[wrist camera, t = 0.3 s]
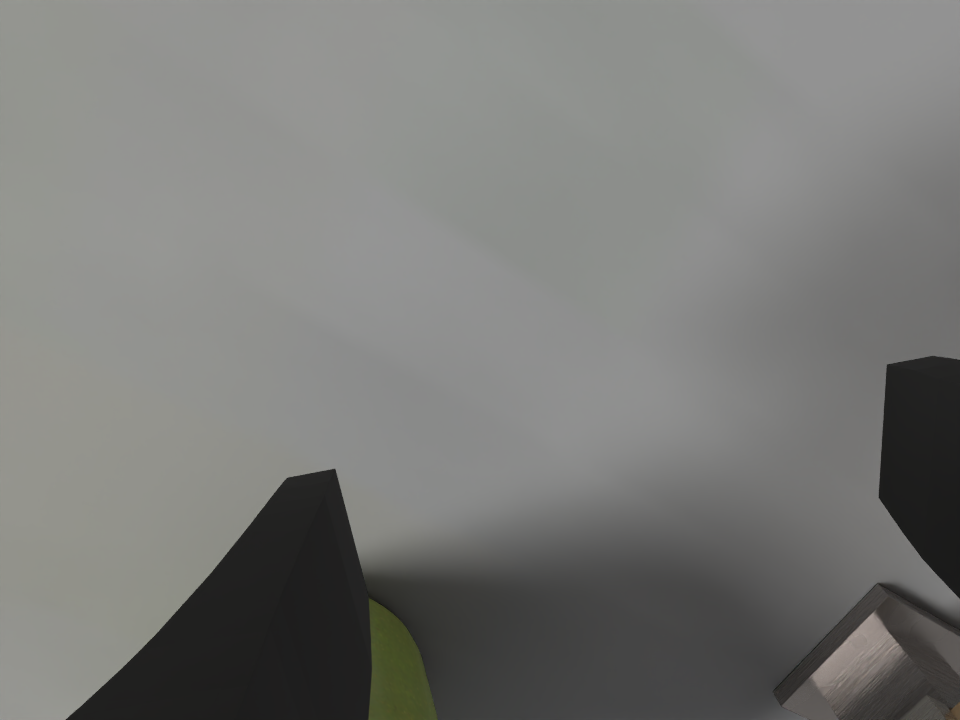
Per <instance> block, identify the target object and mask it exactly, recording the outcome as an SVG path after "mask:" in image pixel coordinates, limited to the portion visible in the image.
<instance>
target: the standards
mask: <svg viewBox="0 0 960 720" xmlns="http://www.w3.org/2000/svg"><path fill="white" fill-rule="evenodd" d="M773 693H774V695H775V696H776V698H777V700H778V702H779V703H780V705H781V706H782V707H784V708H786V709H788V710H790V711H792V712H794V713H796V714H798V715H800V716H802V717H805V718H807V719H809V720H958V719H957V718H956V717H955V716H954V715H953V713H952V712H951V711H950V710H951V709H953V708H954V707H955V706H956V705H957V704H958V703H959V702H960V631H959V630H957V629H956V628H954V627H952V626H950V625H949V624H947V623H945V622H944V621H942V620H940V619H938V618H937V617H935V616H933V615H931V614H930V613H928V612H926V611H924V610H923V609H921V608H919V607H917V606H916V605H914V604H912V603H910V602H909V601H907V600H905V599H903V598H902V597H900V596H898V595H896V594H895V593H893V592H891V591H890V590H888V589H886V588H884V587H883V586H881V585H879V584H877V585H876V586H875V587H874V588H873V589H872V590H871V591H870V592H869V593H868V594H867V595H866V596H865V597H864V598H863V599H862V600H861V601H860V602H859V603H858V604H857V605H856V606H855V607H854V608H853V609H852V611H851V612H850V613H849V614H848V615H847V616H846V617H845V618H844V619H843V620H842V621H841V622H840V623H839V624H838V625H837V626H836V627H835V628H834V629H833V630H832V631H831V632H830V633H829V634H828V635H827V636H826V637H825V638H824V640H823V641H822V642H821V643H820V644H819V645H818V646H817V647H816V648H815V649H814V650H813V651H812V652H811V653H810V654H809V655H808V656H807V657H806V658H805V659H804V660H803V661H802V662H801V663H800V664H799V665H798V666H797V667H796V669H795V670H794V671H793V672H792V673H791V674H790V675H789V676H788V677H787V678H786V679H785V680H784V681H783V682H782V683H781V684H780V685H779V686H778V687H777V688H776V689H775V690H774V691H773Z"/></svg>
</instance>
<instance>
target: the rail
mask: <svg viewBox="0 0 960 720" xmlns="http://www.w3.org/2000/svg"><path fill="white" fill-rule="evenodd" d="M950 711H951V712H952V713H953V715H954V716H955V717H956V718H957V719H958V720H960V702H959V703H958V704H957V705H956V706H955V707H954V708H953V709H951V710H950Z"/></svg>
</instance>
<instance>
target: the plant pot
mask: <svg viewBox="0 0 960 720" xmlns="http://www.w3.org/2000/svg"><path fill="white" fill-rule="evenodd" d="M369 611H370V630H371V653H372V678H371V692H370V706H369V719H368V720H438V718H437V714H436V710H435V706H434V702H433V699H432V695H431V691H430V687H429V683H428V680H427V676H426V672H425V668H424V664H423V661H422V658H421V654H420V652H419V649H418V647H417V645H416V643H415V642H414V640H413V638H412V636H411V635H410V633H409V632H408V630H407V628H406V627H405V626H404V624H403V623H402V622H401V621H400V620H399V619H398V618H397V617H396V616H395V615H394V614H393V613H391V612H390V611H389V610H387V609H386V608H385V607H383V606H382V605H380V604H378V603H377V602H375V601H373V600H372V599H370V598H369Z"/></svg>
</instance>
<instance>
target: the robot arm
mask: <svg viewBox="0 0 960 720" xmlns="http://www.w3.org/2000/svg"><path fill="white" fill-rule="evenodd" d="M879 499H880V500H881V502H882V503H883V504H884V506H885V507H886V509H887V510H888V512H889V513H890V515H891V516H892V518H893V519H894V520H895V522H896V523H897V525H898V526H899V528H900V529H901V531H902V532H903V533H904V535H905V536H906V537H907V539H908V540H909V541H910V543H911V544H912V545H913V547H914V548H915V549H916V551H917V552H918V553H919V555H920V556H921V557H922V559H923V560H924V561H925V562H926V563H927V564H928V565H929V566H930V568H931V569H932V570H933V571H934V572H935V573H936V574H937V575H938V576H939V577H940V578H941V579H942V580H943V582H944V583H945V584H946V585H947V586H948V587H949V588H950V589H951V590H952V591H953V592H954V593H955V594H956V595H957V596H958V597H959V598H960V360H957V359H951V358H944V357H936V356H930V357H925V358H920V359H914V360H909V361H904V362H898V363H893V364H888V365H887V371H886V387H885V404H884V420H883V436H882V452H881V468H880V484H879ZM371 678H372V653H371V630H370V611H369V596H368V592H367V589H366V585H365V581H364V577H363V573H362V569H361V566H360V562H359V558H358V554H357V550H356V547H355V543H354V539H353V535H352V531H351V527H350V524H349V520H348V516H347V512H346V508H345V505H344V501H343V497H342V493H341V489H340V485H339V482H338V478H337V474H336V470H335V469H332V470H326V471H321V472H316V473H310V474H305V475H300V476H295V477H289V478H287V479H286V480H285V481H284V482H283V483H282V485H281V486H280V487H279V488H278V489H277V491H276V492H275V493H274V495H273V496H272V497H271V498H270V500H269V501H268V502H267V504H266V505H265V506H264V507H263V509H262V510H261V511H260V513H259V514H258V515H257V517H256V518H255V519H254V520H253V522H252V523H251V524H250V526H249V527H248V528H247V529H246V531H245V532H244V533H243V534H242V536H241V537H240V538H239V539H238V541H237V542H236V543H235V544H234V546H233V547H232V548H231V549H230V550H229V552H228V553H227V554H226V555H225V557H224V558H223V559H222V560H221V562H220V563H219V564H218V565H217V567H216V568H215V569H214V570H213V571H212V573H211V574H210V575H209V576H208V577H207V578H206V580H205V581H204V582H203V583H202V584H201V585H200V586H199V587H198V588H197V589H196V591H195V592H194V593H193V594H192V595H191V596H190V597H189V598H188V599H187V601H186V602H185V603H184V604H183V605H182V606H181V607H180V608H179V609H178V611H177V612H176V613H175V614H174V615H173V616H172V617H171V618H170V619H169V621H168V622H167V623H166V624H165V625H164V626H163V627H162V628H161V629H160V631H159V632H158V633H157V634H156V635H155V636H154V637H153V638H152V639H151V640H150V641H149V642H148V643H147V644H146V645H145V646H144V647H143V648H142V649H141V650H140V651H139V652H138V653H137V654H136V655H135V656H134V657H133V658H132V659H131V660H130V661H129V662H128V663H127V664H126V665H125V666H124V667H123V668H122V669H121V670H120V671H119V672H118V673H117V674H115V675H114V676H113V677H112V678H111V679H110V680H109V681H108V682H107V683H106V684H105V685H104V686H102V687H101V688H100V689H99V690H98V691H97V692H96V693H95V694H94V695H93V696H92V697H91V698H89V699H88V700H87V701H86V702H85V703H84V704H83V705H82V706H81V707H80V708H78V709H77V710H76V711H75V712H74V713H73V714H72V715H70V716H69V717H68V718H67V719H66V720H368V719H369V706H370V692H371Z"/></svg>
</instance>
